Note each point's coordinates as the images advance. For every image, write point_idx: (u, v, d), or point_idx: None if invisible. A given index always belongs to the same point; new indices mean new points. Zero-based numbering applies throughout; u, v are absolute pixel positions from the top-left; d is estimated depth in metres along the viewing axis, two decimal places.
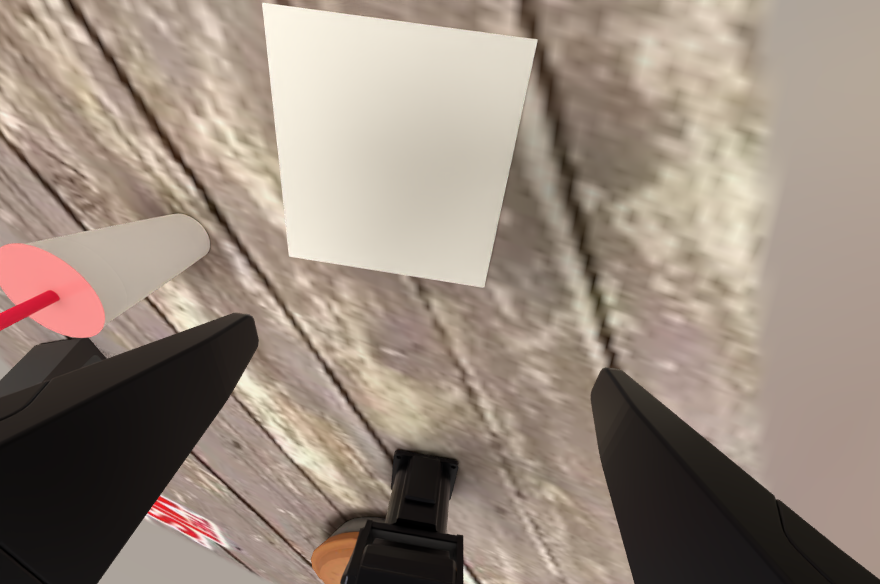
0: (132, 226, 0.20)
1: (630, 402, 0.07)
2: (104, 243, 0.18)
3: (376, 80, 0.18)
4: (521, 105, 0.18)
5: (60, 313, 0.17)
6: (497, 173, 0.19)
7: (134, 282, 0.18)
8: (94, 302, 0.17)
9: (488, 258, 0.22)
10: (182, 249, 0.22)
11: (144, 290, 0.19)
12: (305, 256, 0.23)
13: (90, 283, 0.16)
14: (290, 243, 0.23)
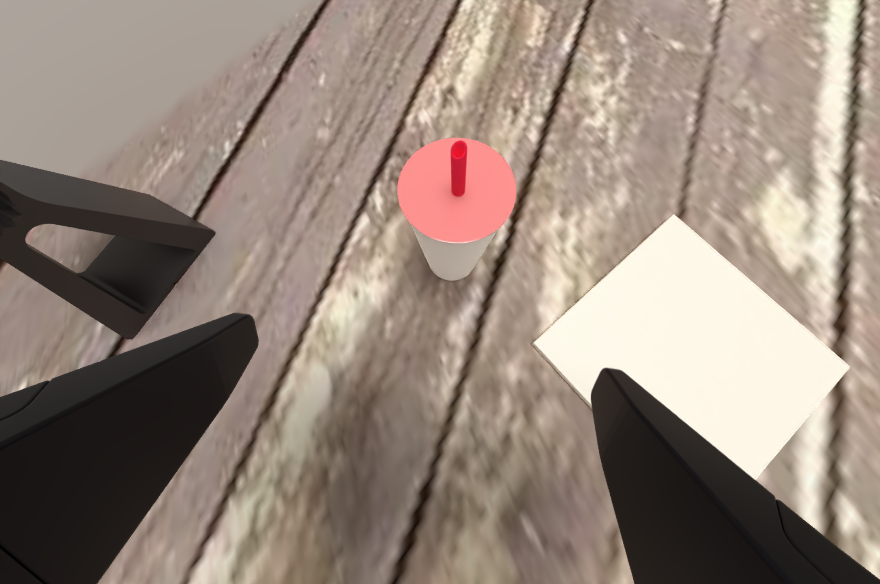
0: None
1: (630, 402, 0.07)
2: None
3: (719, 299, 0.22)
4: (822, 396, 0.20)
5: (438, 203, 0.15)
6: (780, 429, 0.20)
7: (486, 243, 0.17)
8: (491, 224, 0.14)
9: None
10: (477, 261, 0.21)
11: (469, 255, 0.17)
12: (549, 355, 0.21)
13: (502, 212, 0.15)
14: (546, 334, 0.22)
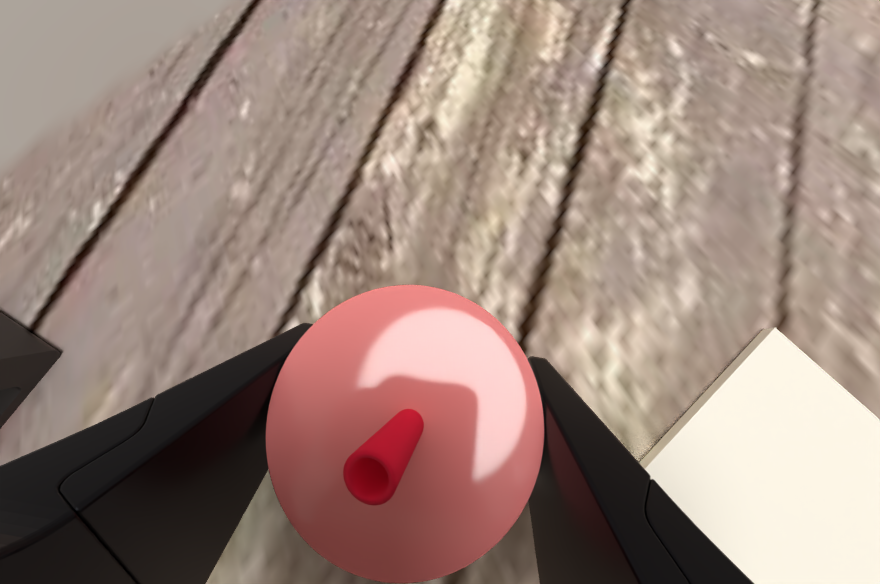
0: None
1: (541, 388, 0.07)
2: None
3: (862, 481, 0.13)
4: None
5: None
6: None
7: None
8: (485, 525, 0.06)
9: None
10: None
11: None
12: None
13: (512, 476, 0.06)
14: None
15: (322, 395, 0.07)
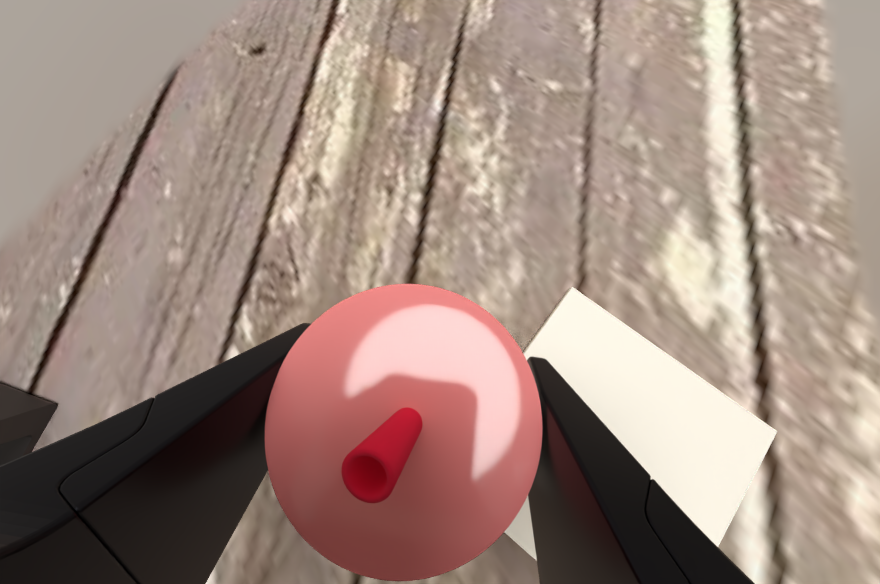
0: None
1: (541, 388, 0.07)
2: None
3: (632, 379, 0.20)
4: (753, 472, 0.19)
5: None
6: (715, 522, 0.18)
7: None
8: (484, 522, 0.06)
9: None
10: None
11: None
12: None
13: (511, 475, 0.06)
14: None
15: (321, 394, 0.07)
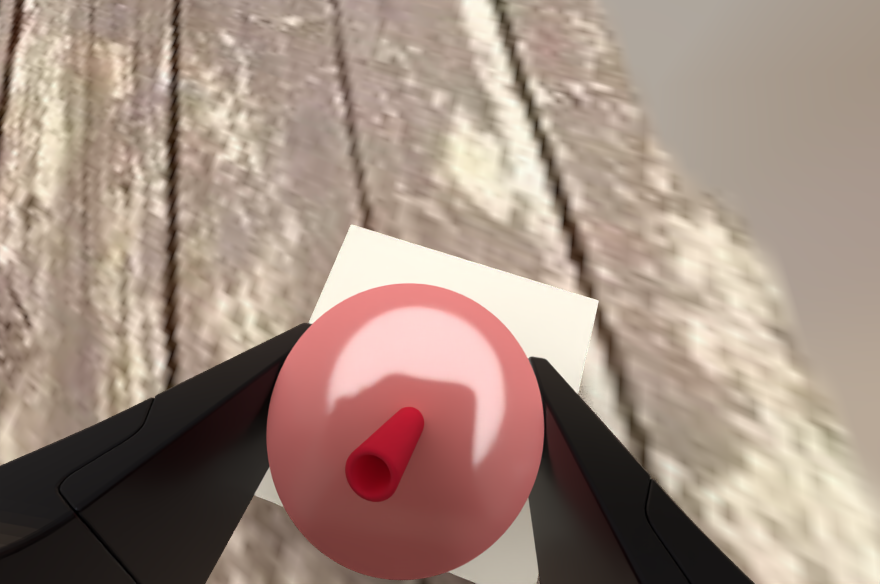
0: None
1: (541, 388, 0.07)
2: None
3: None
4: (584, 352, 0.17)
5: None
6: None
7: None
8: (486, 521, 0.06)
9: None
10: None
11: None
12: (263, 493, 0.15)
13: (513, 474, 0.06)
14: None
15: (323, 393, 0.07)
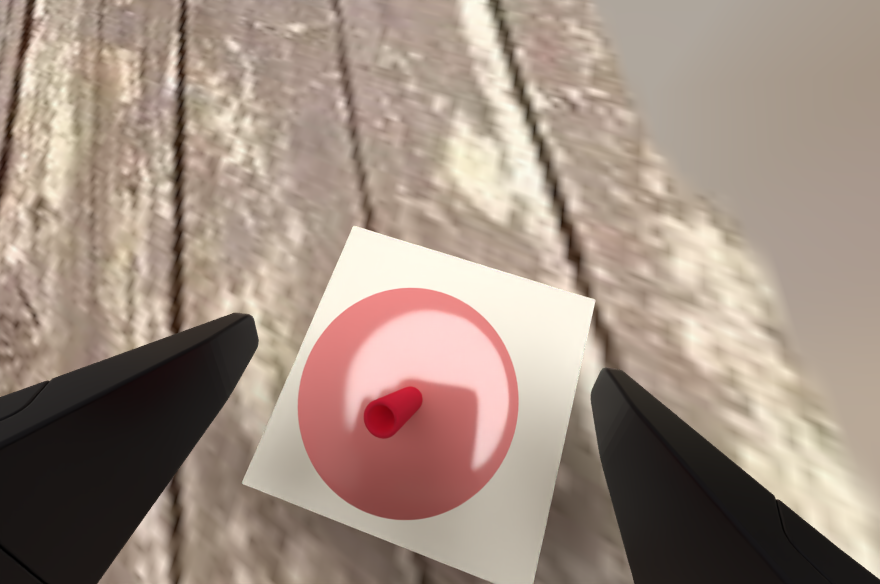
0: None
1: (630, 402, 0.07)
2: None
3: None
4: (582, 350, 0.17)
5: None
6: (555, 416, 0.16)
7: None
8: (471, 476, 0.08)
9: (539, 540, 0.15)
10: None
11: None
12: (267, 488, 0.16)
13: (493, 441, 0.08)
14: (255, 462, 0.16)
15: (342, 375, 0.08)
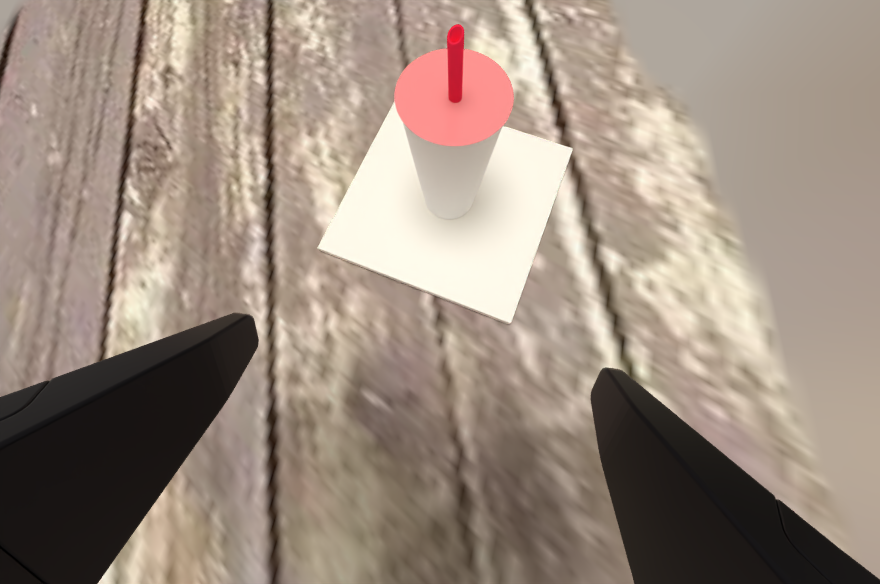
0: None
1: (630, 402, 0.07)
2: None
3: None
4: (560, 180, 0.24)
5: (433, 107, 0.15)
6: (537, 219, 0.23)
7: (480, 161, 0.17)
8: (485, 130, 0.14)
9: (519, 291, 0.22)
10: (473, 194, 0.21)
11: (463, 174, 0.17)
12: (335, 251, 0.23)
13: (498, 122, 0.15)
14: (326, 236, 0.23)
15: (418, 85, 0.15)
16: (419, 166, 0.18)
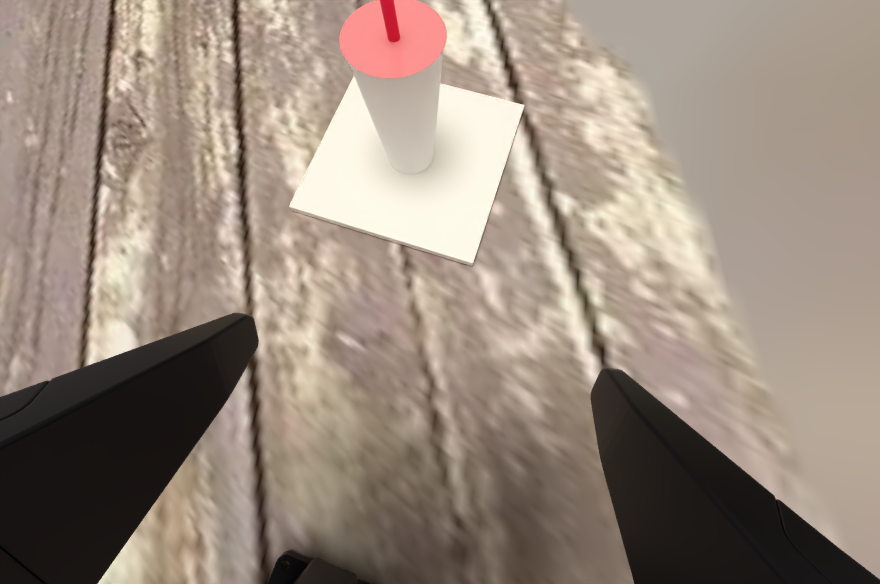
0: None
1: (630, 402, 0.07)
2: None
3: None
4: (513, 133, 0.26)
5: (374, 47, 0.16)
6: (494, 170, 0.25)
7: (425, 100, 0.18)
8: (422, 63, 0.16)
9: (480, 234, 0.23)
10: (428, 143, 0.22)
11: (411, 114, 0.19)
12: (305, 209, 0.24)
13: (434, 57, 0.16)
14: (297, 195, 0.24)
15: (361, 29, 0.17)
16: (372, 112, 0.19)
